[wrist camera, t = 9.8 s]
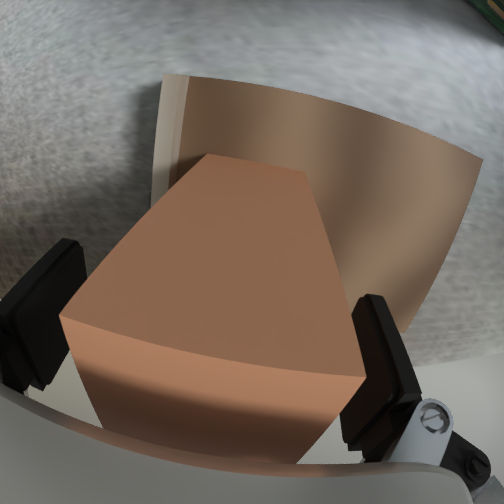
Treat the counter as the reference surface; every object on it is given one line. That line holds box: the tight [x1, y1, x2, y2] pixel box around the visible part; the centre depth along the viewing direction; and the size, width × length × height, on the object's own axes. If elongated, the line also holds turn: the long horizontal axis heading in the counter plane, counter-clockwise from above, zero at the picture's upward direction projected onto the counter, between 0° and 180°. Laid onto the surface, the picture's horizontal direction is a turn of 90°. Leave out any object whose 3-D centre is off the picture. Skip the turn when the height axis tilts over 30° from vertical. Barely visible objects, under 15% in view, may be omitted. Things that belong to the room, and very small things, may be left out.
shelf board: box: [149, 74, 483, 333], centre depth 15 cm, size 16×12×2 cm
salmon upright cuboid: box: [59, 154, 366, 464], centre depth 10 cm, size 5×7×11 cm, turn 170°
